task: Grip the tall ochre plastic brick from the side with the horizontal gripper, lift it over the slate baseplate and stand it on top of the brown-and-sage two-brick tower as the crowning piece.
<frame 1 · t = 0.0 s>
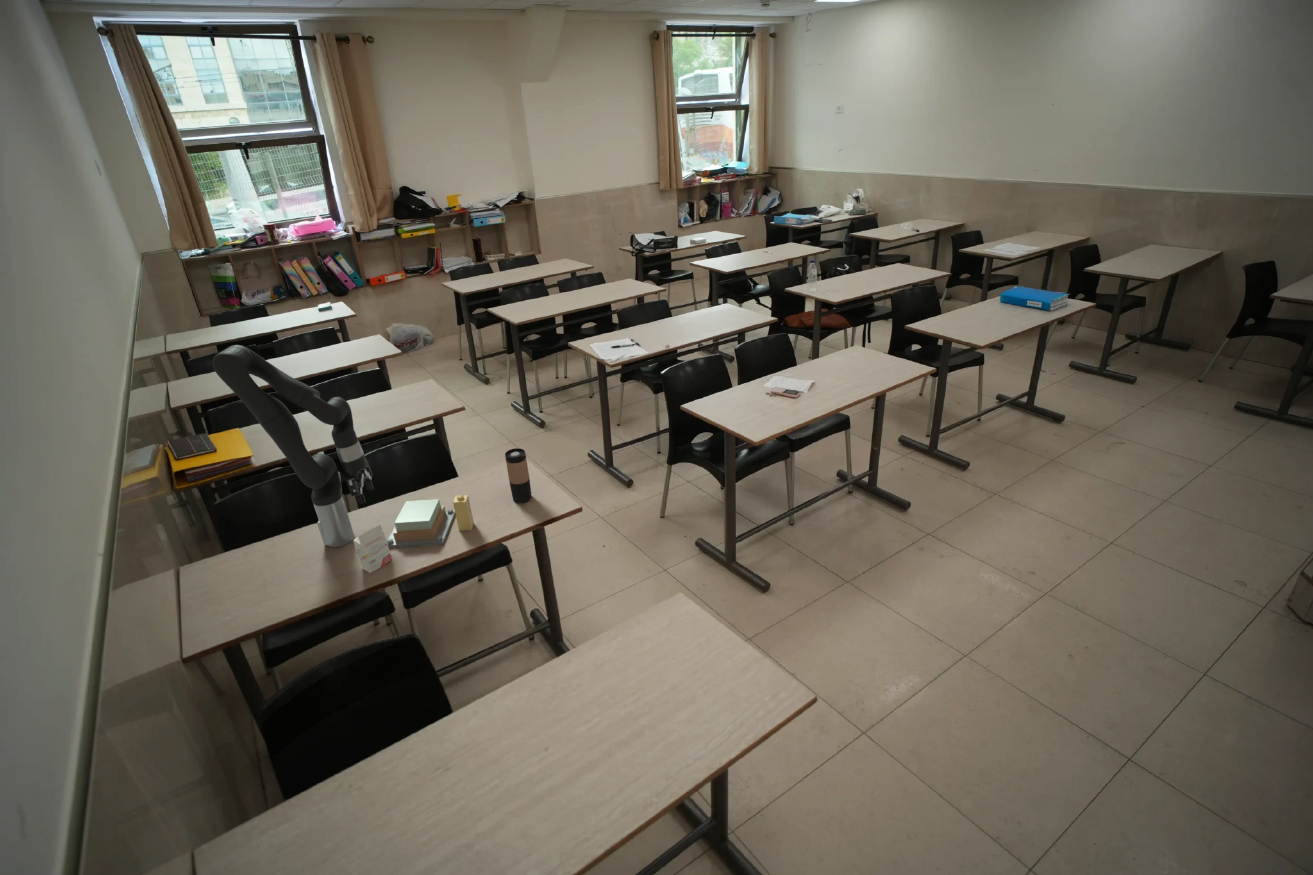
hand: (366, 496, 226), 17 cm above the table, tool pointing down, fingers open, 8 cm apart
ochre brick: (466, 526, 237), on the table
brick tower: (422, 529, 237), on the table
ink cartridge box: (377, 564, 220), on the table
travel mug: (522, 498, 253), on the table
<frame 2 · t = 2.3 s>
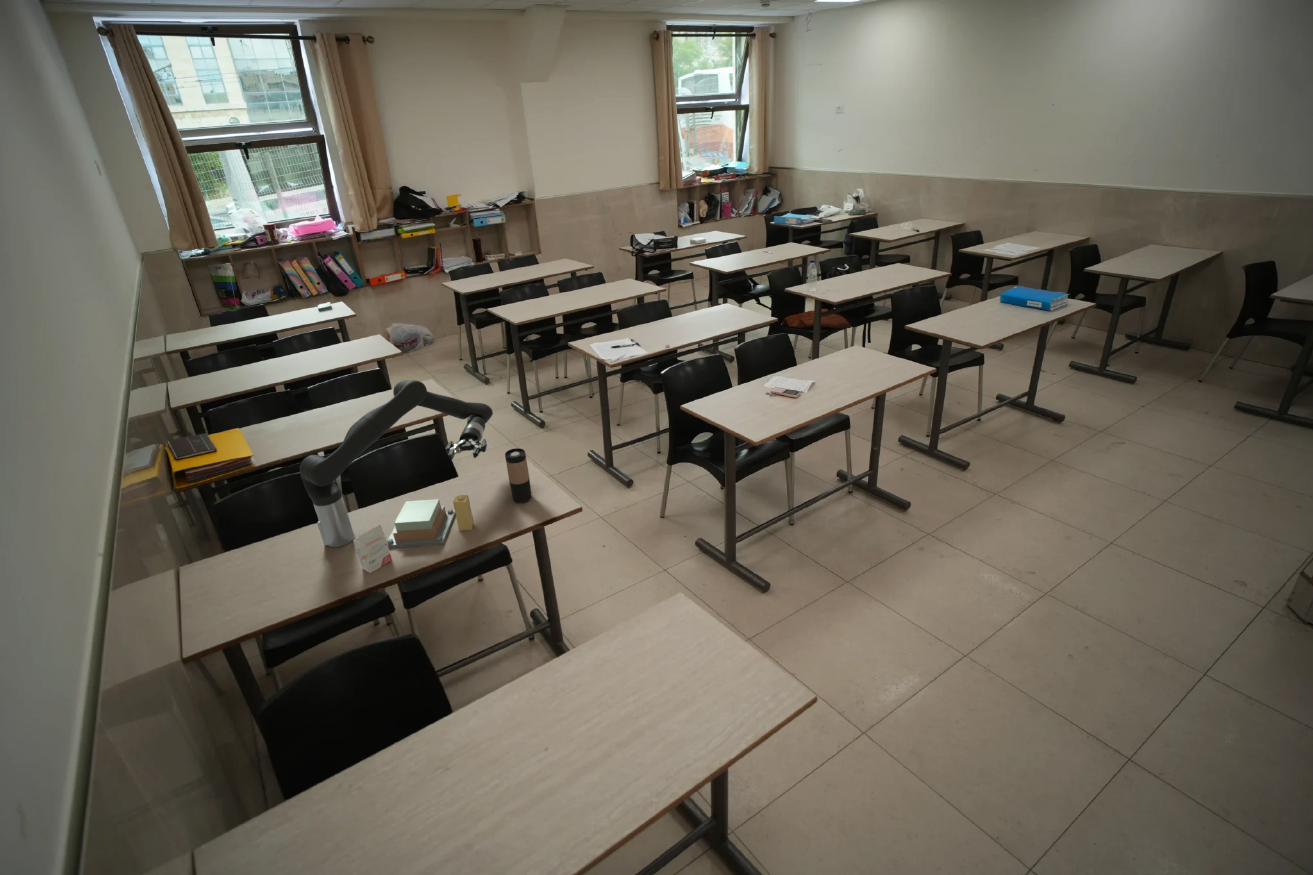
hand: (462, 456, 237), 23 cm above the table, tool horizontal, fingers open, 8 cm apart
nothing on the table moved.
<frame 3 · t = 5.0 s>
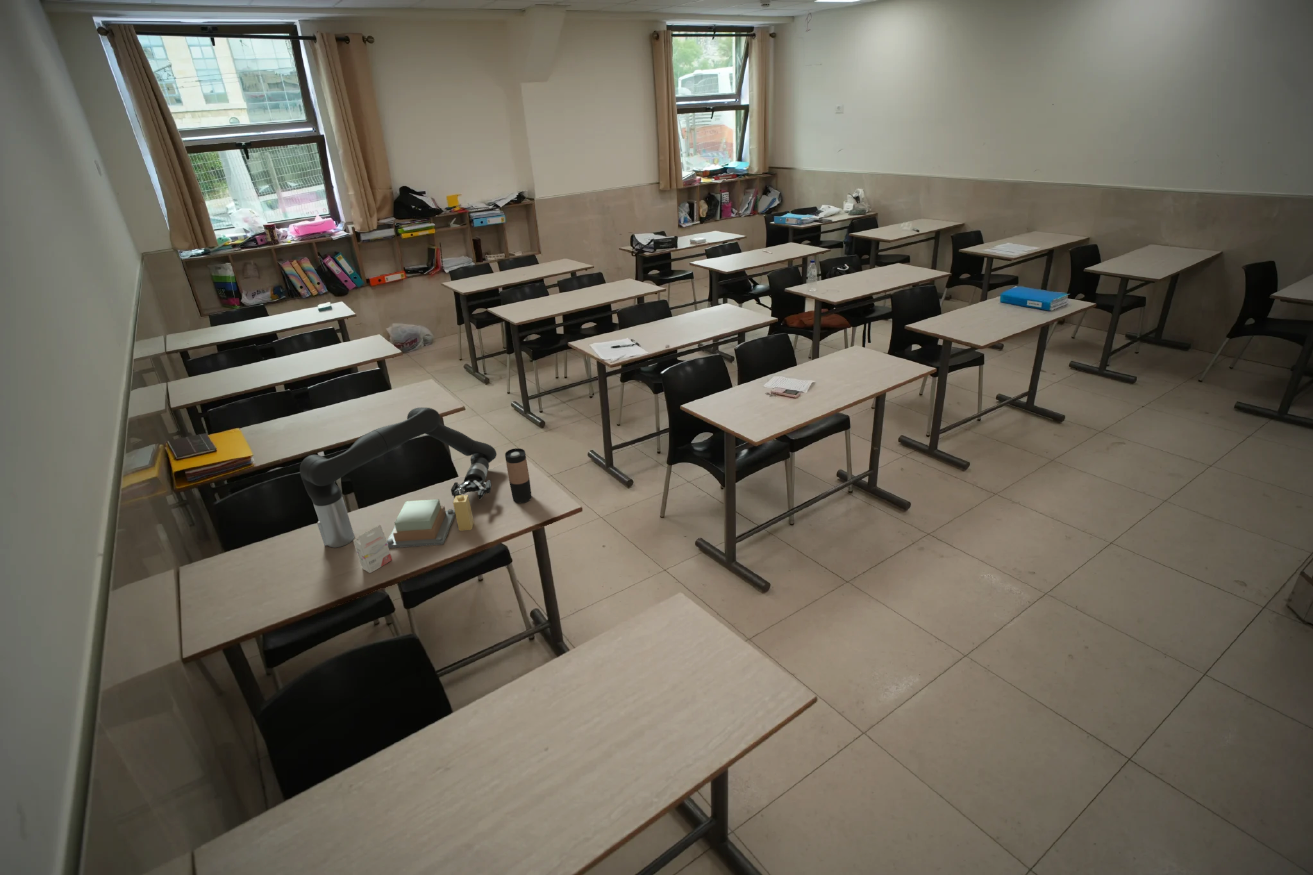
hand: (467, 498, 242), 7 cm above the table, tool horizontal, fingers open, 8 cm apart
nothing on the table moved.
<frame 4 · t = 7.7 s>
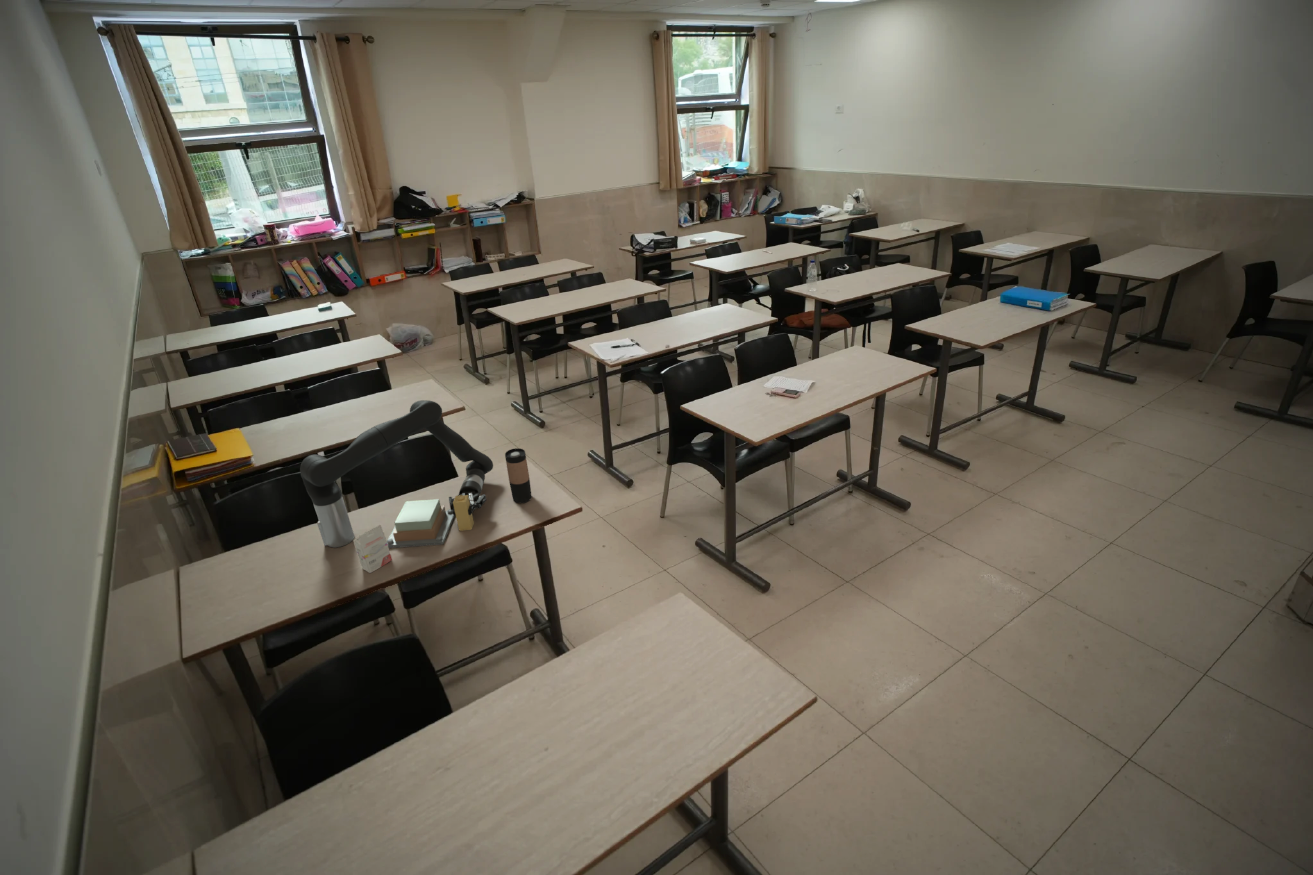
hand: (462, 513, 232), 7 cm above the table, tool horizontal, fingers closed on ochre brick, 4 cm apart
ochre brick: (466, 526, 237), on the table, touching gripper
everything else where it was.
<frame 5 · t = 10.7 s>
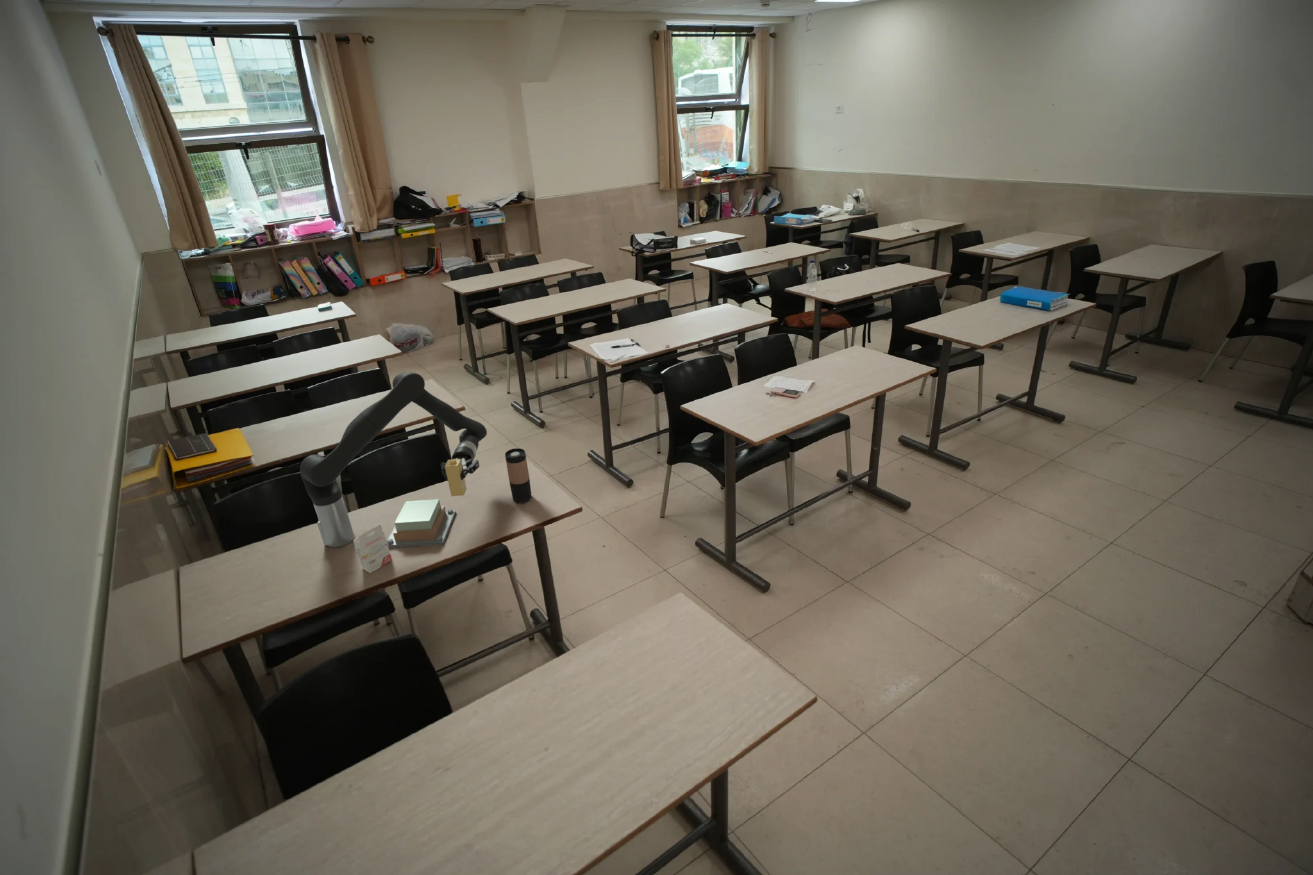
hand: (454, 477, 226), 22 cm above the table, tool horizontal, fingers closed on ochre brick, 4 cm apart
ochre brick: (459, 492, 231), point 15 cm above the table, touching gripper
everything else where it was.
when the fingers open (16 cm above the table, at t = 13.9 s): ochre brick stays where it is, resting on brick tower.
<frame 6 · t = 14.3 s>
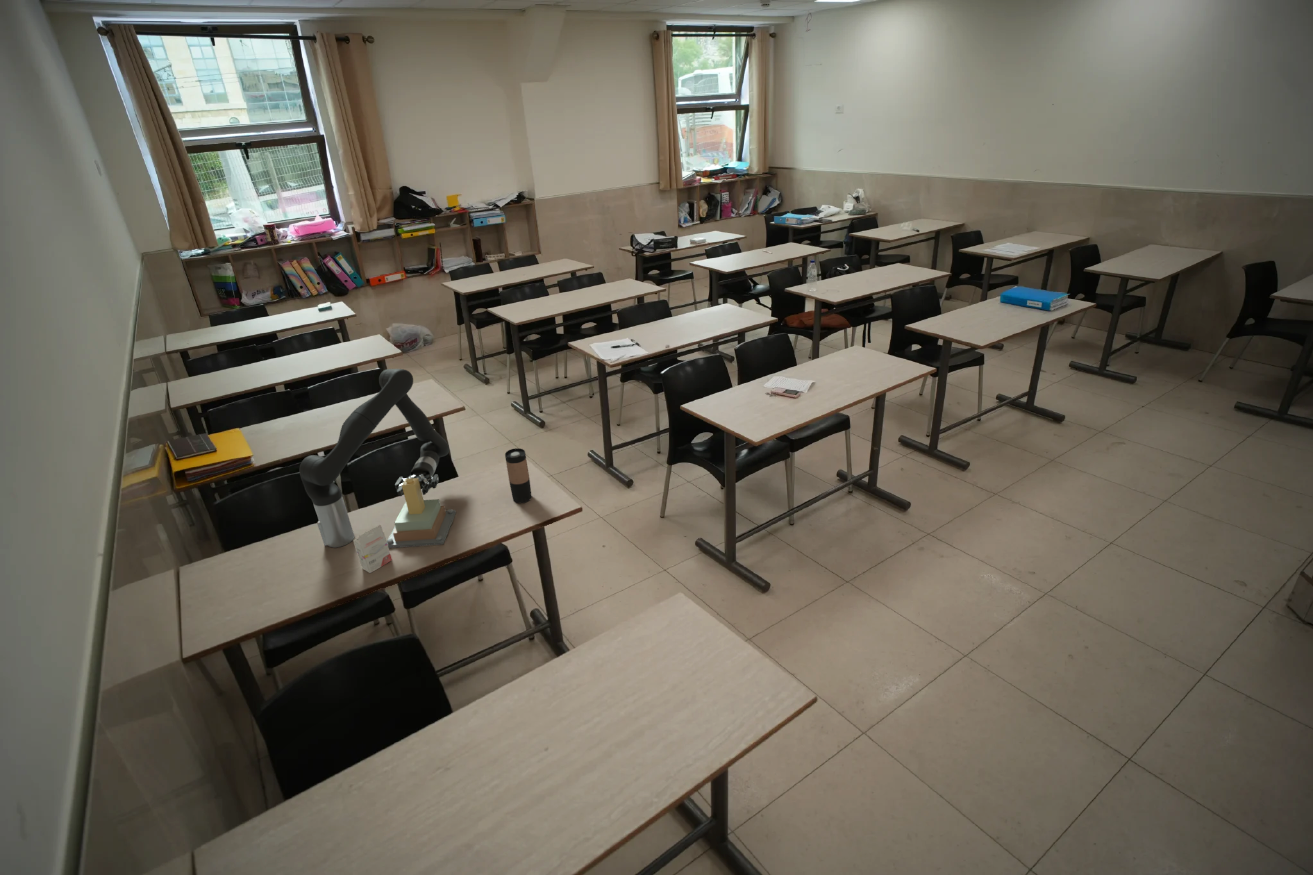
hand: (411, 493, 228), 16 cm above the table, tool horizontal, fingers open, 8 cm apart
ochre brick: (417, 510, 233), point 8 cm above the table, touching brick tower
everything else where it was.
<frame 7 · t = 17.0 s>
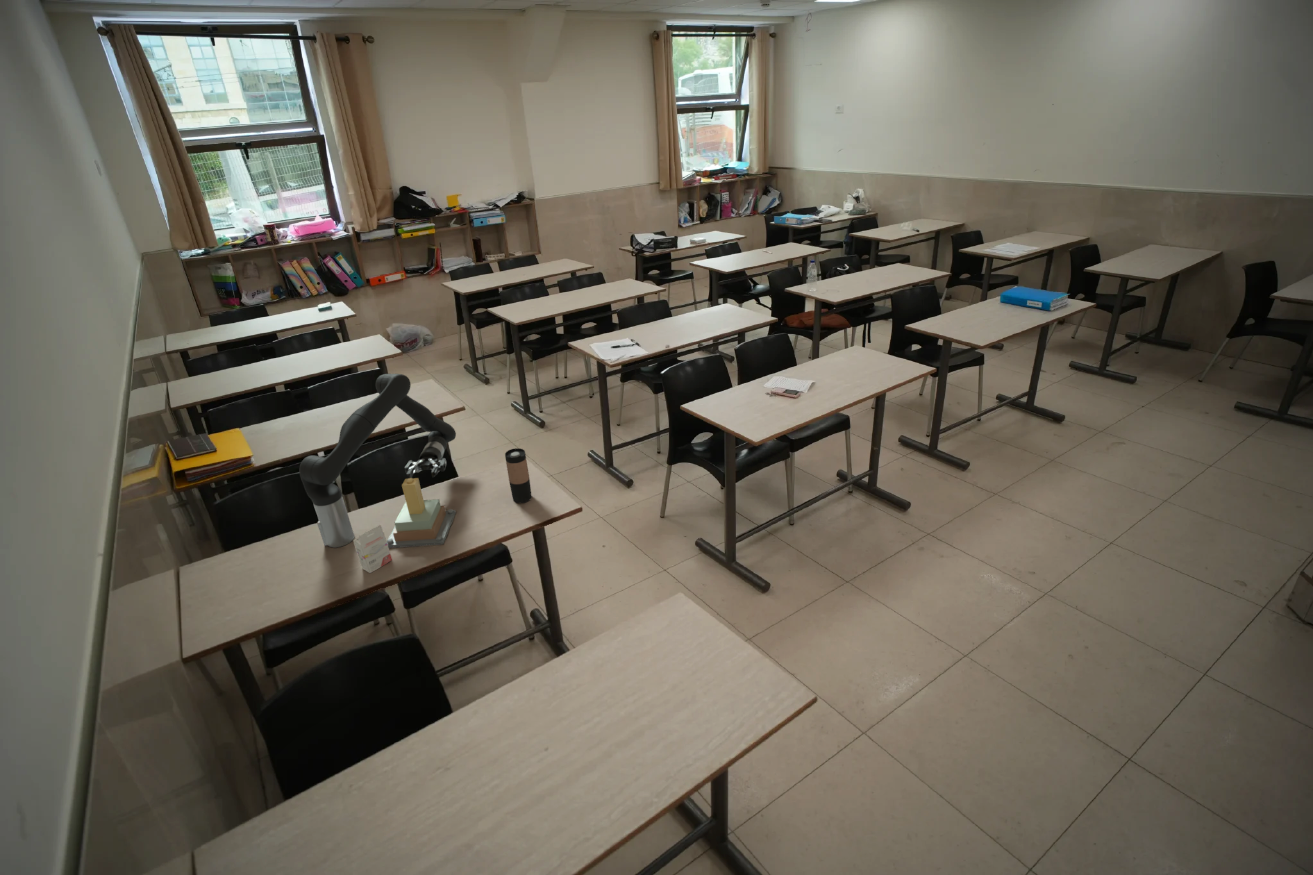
hand: (420, 475, 239), 16 cm above the table, tool horizontal, fingers open, 8 cm apart
nothing on the table moved.
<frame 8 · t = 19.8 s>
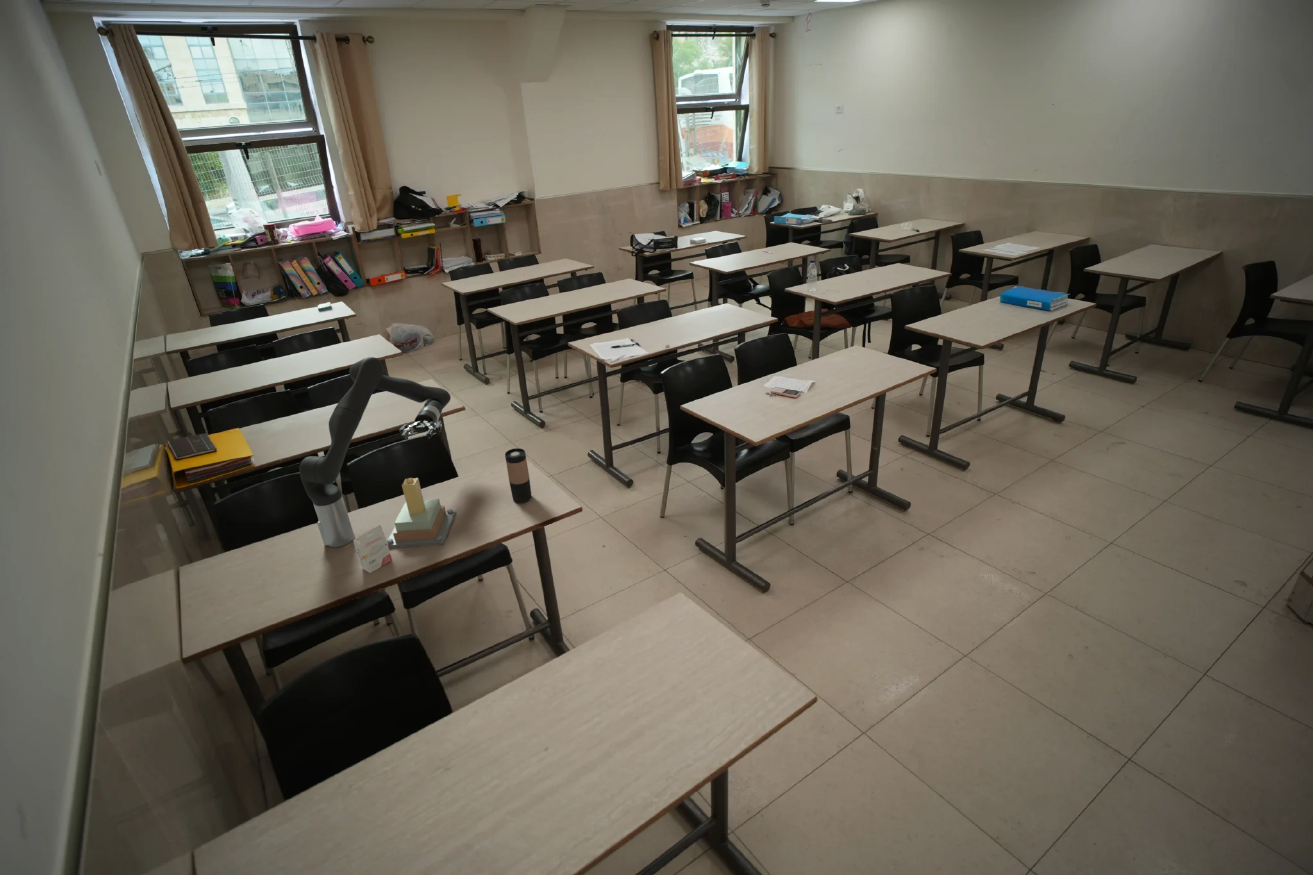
hand: (416, 437, 237), 30 cm above the table, tool horizontal, fingers open, 8 cm apart
nothing on the table moved.
at the end: ochre brick inside the target area on the brick tower (0.1 cm from its centre), point 8.2 cm above the brick tower's base; ochre brick tilted 0°; the gripper is holding nothing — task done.
